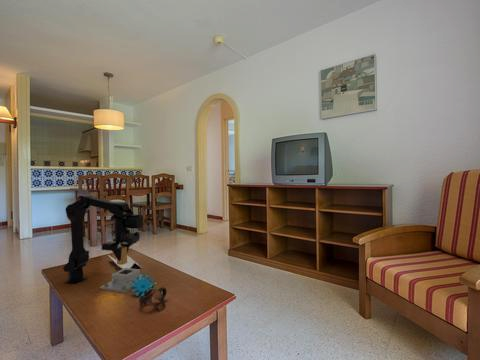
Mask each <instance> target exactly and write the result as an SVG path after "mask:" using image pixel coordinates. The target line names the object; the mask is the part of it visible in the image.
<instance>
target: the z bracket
mask: <svg viewBox="0 0 480 360" xmlns="http://www.w3.org/2000/svg"><path fill="white" fill-rule="evenodd" d="M107 256H108V257H109V258H110V259H111V260H112V261H113V262H114V263H115V264H116V265H117V266H118V267H119V268H121V270H122V269H124V268H131V269H132V267H133V266H134V265H137V266H138V267H139V268H141V269H143V267H142V266H141V265H140V264H139V263H138V262H136V261H135V260H134V259H133V258H132V257H130V256H129V255H127V263H125V264H123V265H118V264H117V258H116V259H115V258H114V257H112V256H111V255H110V254H107Z"/></svg>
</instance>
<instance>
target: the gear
mask: <svg viewBox="0 0 480 360" xmlns="http://www.w3.org/2000/svg"><path fill="white" fill-rule="evenodd" d="M141 274H142V273H141ZM145 275H147V277H146V278H145V279H143V277H144V276H145ZM139 277H140V276H137V277H136V279H137V280H138V282H136V280H135V279H134V280H133V281H132V282H133V283H135V284H136V286H134V285H133V284H132V285H131V288H132V289H131V293H135V294H134V295H135V296H136V297H138V296H139V295H140V297H141V296H143V298H144V297H145V293H146V292H147V291H149V290H151V289H153V288H155V286H157V281H155V282H154V278H151V277H150V274H149V275H148V274H142V278H141V280H139ZM140 293H141V294H140Z"/></svg>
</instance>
